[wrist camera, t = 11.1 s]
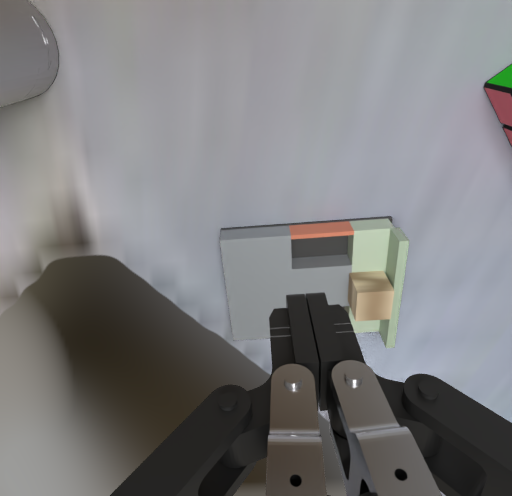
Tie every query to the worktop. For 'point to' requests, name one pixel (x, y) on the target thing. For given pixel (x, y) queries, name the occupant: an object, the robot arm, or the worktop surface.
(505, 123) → the puzzle cube
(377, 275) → the maple block
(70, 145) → the worktop surface
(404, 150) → the worktop surface
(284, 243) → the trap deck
